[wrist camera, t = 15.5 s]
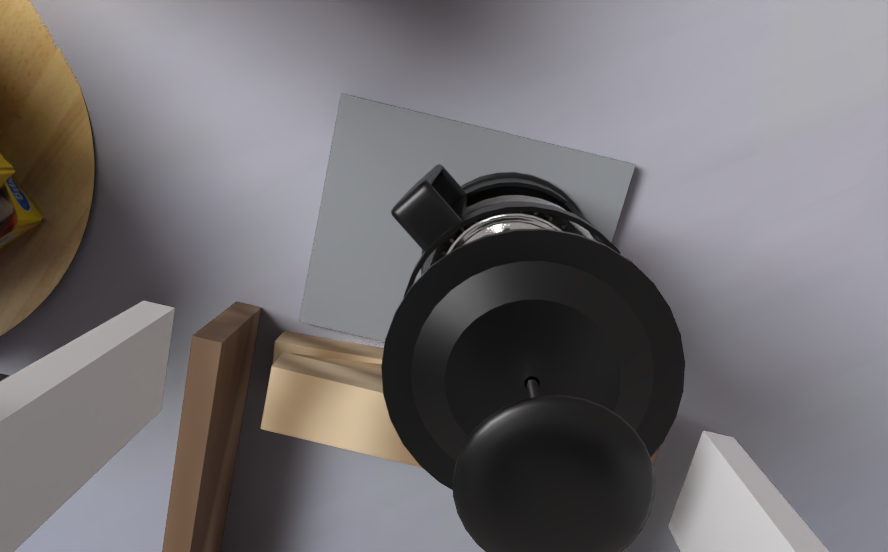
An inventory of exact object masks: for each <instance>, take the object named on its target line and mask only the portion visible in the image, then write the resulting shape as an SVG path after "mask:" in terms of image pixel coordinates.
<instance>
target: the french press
mask: <svg viewBox="0 0 888 552" xmlns="http://www.w3.org/2000/svg"><path fill="white" fill-rule="evenodd" d="M391 214H392V216H393V217H394V218H395V220H396V221H397V222H398V223H399V224H400V225H401V226H402V227H403V228H404V230H405V231H406V232H407V233H408V234H409V235H410V236H411V237H412V239H413V240H414V241H415V242H416V243H417V244H418V245H419V246H420V248H421V249H422V256H421V257H420V259H419V261H418V262H417V264H416V265H415V268H414V270H413V272H412V275H411V278H410V280H409V283H408V286H407V288H406V291H405V294H404V299H403V300H402V302H401V303H400V305H399V307H398V308H397V310H396V312H395V315H394V317H393V320H392V323H391V325H390V328H389V331H388V333H387V336H386V339H385V345H384V352H383V358H382V365H381V370H382V385H383V395H384V399H385V403H386V406H387V410H388V414H389V417H390V420H391V422H392V424H393V426H394V428H395V430H396V432H397V434H398V436H399V438H400V440H401V442H402V444H403V445H404V446H405V447H406V449H407V450H408V451H409V452H410V454H411V455H412V456H413V458H414V459H415V460H416V461H417V463H418V464H419V465H420V466H421V467H422V468H424V469H425V470H426V471H427V472H428V473H429V474H431V475H432V476H433V477H434V478H435V479H436V480H437V481H439V482H440V483H442V484H443V485H445V486H447V487H448V488H450V489H452V490H453V498H454V501H455V505H456V509H457V513H458V515H459V517H460V519H461V521H462V523H463V525H464V527H465V529H466V530H467V532H468V533H469V534H470V536H471V537H472V538H473V539H474V541H475V542H476V543H477V544H478V545H479V546H480V547H481V548H482V549H483V550H485V551H486V552H622V551H623V550H624V549H625V548H626V547H628V546H629V545H630V544H631V542H632V541H633V540H634V539H635V538H636V536H637V535H638V534H639V533H640V531H641V530H642V528H643V526H644V524H645V522H646V520H647V518H648V516H649V514H650V510H651V506H652V503H653V499H654V491H655V476H654V470H653V464H652V460H651V457H652V455H653V454H654V453H655V452H656V450H657V449H658V448H659V447H660V445H661V444H662V443H663V441H664V439H665V437H666V435H667V433H668V432H669V430H670V428H671V426H672V424H673V422H674V420H675V418H676V415H677V411H678V408H679V404H680V400H681V397H682V393H683V386H684V370H685V360H684V354H683V347H682V341H681V335H680V332H679V330H678V327H677V324H676V322H675V319H674V317H673V314H672V312H671V309H670V307H669V306H668V304H667V303H666V301H665V300H664V298H663V297H662V295H661V294H660V292H659V291H658V289H657V288H656V286H655V285H654V283H653V282H652V281H651V280H650V279H649V278H648V277H647V276H646V275H645V274H643V273H642V272H641V271H640V270H639V269H638V268H637V267H636V266H635V265H634V264H633V263H632V262H631V261H630V260H628V259H627V258H625V257H624V256H622V255H621V253H620V252H619V250H618V249H617V248H616V247H615V246H614V245H613V244H612V243H611V242H610V241H609V240H608V239H607V238H606V237H605V236H604V235H603V234H602V233H600V232H599V231H598V230H597V229H596V228H595V227H594V226H593V225H592V224H591V223H590V222H589V221H588V220H587V219H586V218H585V217H584V215H583V214H582V212H581V211H580V209H579V208H578V206H577V205H576V203H575V202H574V201H573V200H572V199H571V198H570V197H569V196H568V195H566V194H565V193H564V192H563V191H562V190H561V189H559V188H558V187H556V186H555V185H553V184H551V183H550V182H548V181H546V180H543V179H541V178H538V177H536V176H533V175H529V174H523V173H517V172H501V173H494V174H489V175H485V176H480V177H478V178H476V179H474V180H472V181H469V182H467V183H465V184H463V185H462V186H460V185H459V184H458V183H457V182H456V181H455V179H454V178H453V177H452V176H451V175H450V174H449V172H448V171H447V170H446V169H445V168H444V167H443V166H442V165H440V164H438V165H436V166H435V167H434V168H433V169H431V170H430V171H429V172H428V173H427V174H426V175H425V176H424V177H422V178H421V179H420V180H419V181H418V182H417V183H416V184H415V185H414V186H413V187H412V188H411V189H410V190H409V191H408V192H407V193H406V194H405V195H404V196H403V197H402V198H401V199H400V200H399V201H398V202H397V203H396V204H395V205H394V207H393V208H392V210H391ZM594 238H595V239H596V240H597V241H598V242H597V241H595V239H594ZM420 269H421V275H422V276H421V277H420V278H419V279H418V280H417V281H416V282H415V283H414V281H415V279H416V276H417V274H418V272H419V271H420Z"/></svg>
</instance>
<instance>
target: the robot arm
mask: <svg viewBox="0 0 888 552" xmlns="http://www.w3.org/2000/svg"><path fill="white" fill-rule="evenodd" d="M174 312H175V308H174V307H170V306H165V305H161V304H157V303H152V302H148V301H142V302H140V303H138V304H136V305H135V306H133V307H131V308H129V309H128V310H126V311H124V312H122V313H121V314H119V315H117V316H115V317H113V318H112V319H110V320H108V321H106V322H105V323H103V324H101V325H99V326H98V327H96V328H94V329H92V330H90V331H89V332H87V333H85V334H83V335H82V336H80V337H78V338H76V339H75V340H73V341H71V342H69V343H67V344H66V345H64V346H62V347H60V348H59V349H57V350H55V351H53V352H52V353H50V354H48V355H46V356H44V357H43V358H41V359H39V360H37V361H36V362H34V363H32V364H30V365H29V366H27V367H25V368H23V369H21V370H20V371H18V372H16V373H14V374H13V375H11V376H9V375H4V374H0V552H14V551H15V550H16V549H17V548H18V547H19V546H20V545H21V544H22V543H23V542H24V541H26V540H27V539H28V538H29V537H30V536H31V535H32V534H33V533H34V532H35V531H36V530H37V529H38V528H39V527H40V526H41V525H42V524H43V523H44V522H45V521H46V520H47V519H48V518H50V517H51V516H52V515H53V514H54V513H55V512H56V511H57V510H58V509H59V508H60V507H61V506H62V505H63V504H64V503H65V502H66V501H67V500H68V499H69V498H70V497H71V496H72V495H74V494H75V493H76V492H77V491H78V490H79V489H80V488H81V487H82V486H83V485H84V484H85V483H86V482H87V481H88V480H89V479H90V478H91V477H92V476H93V475H94V474H95V473H96V472H98V471H99V470H100V469H101V468H102V467H103V466H104V465H105V464H106V463H107V462H108V461H109V460H110V459H111V458H112V457H113V456H114V455H115V454H116V453H117V452H118V451H119V450H120V449H122V448H123V447H124V446H125V445H126V444H127V443H128V442H129V441H130V440H131V439H132V438H133V437H134V436H135V435H136V434H137V433H138V432H139V431H140V430H141V429H142V428H143V427H144V426H146V425H147V424H148V423H149V422H150V421H151V420H152V419H153V418H154V417H155V416H156V415H157V414H158V413H159V412H160V411H161V408H162V401H163V394H164V386H165V379H166V371H167V364H168V356H169V349H170V342H171V334H172V327H173V319H174ZM668 527H669V529H670V531H671V533H672V535H673V537H674V539H675V541H676V543H677V546H678V548H679V550H680V552H829V551H828V550H827V549H826V547H825V546H824V545H823V544H822V543H821V541H820V540H819V539H818V538H817V537H816V535H815V534H814V533H813V532H812V531H811V529H810V528H809V527H808V526H807V525H806V523H805V522H804V521H803V520H802V519H801V517H800V516H799V515H798V514H797V513H796V512H795V510H794V509H793V508H792V507H791V506H790V504H789V503H788V502H787V501H786V500H785V498H784V497H783V496H782V495H781V494H780V492H779V491H778V490H777V489H776V488H775V486H774V485H773V484H772V483H771V482H770V480H769V479H768V478H767V477H766V476H765V474H764V473H763V472H762V471H761V470H760V468H759V467H758V466H757V465H756V464H755V463H754V461H753V460H752V459H751V458H750V457H749V455H748V454H747V453H746V452H745V451H744V449H743V448H742V447H741V446H740V445H739V443H738V442H737V441H736V440H735V439H734V437H730V436H725V435H721V434H717V433H713V432H708V431H704V430H703V432H702V435H701V438H700V440H699V443H698V446H697V449H696V451H695V454H694V457H693V459H692V462H691V465H690V468H689V470H688V473H687V476H686V478H685V481H684V484H683V487H682V489H681V492H680V495H679V497H678V500H677V503H676V505H675V508H674V511H673V514H672V516H671V519H670V522H669V524H668Z"/></svg>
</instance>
